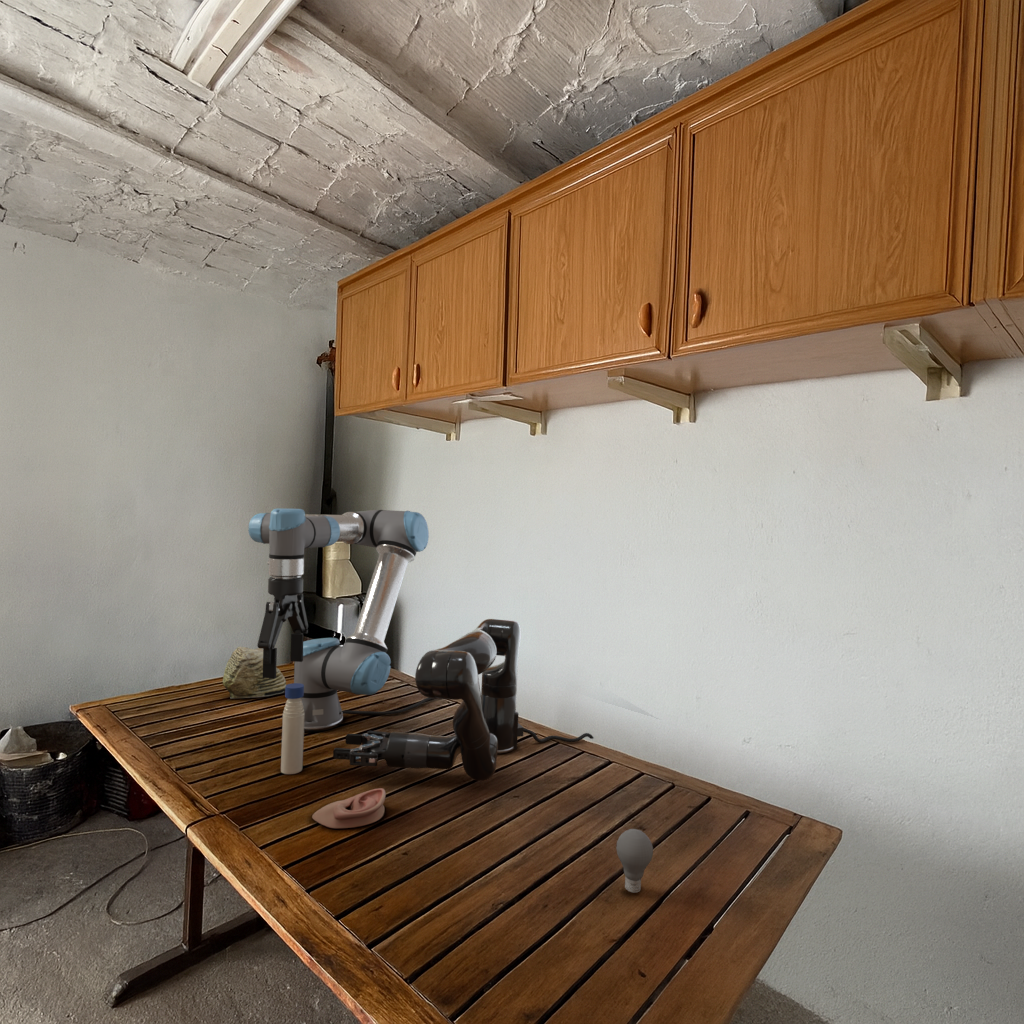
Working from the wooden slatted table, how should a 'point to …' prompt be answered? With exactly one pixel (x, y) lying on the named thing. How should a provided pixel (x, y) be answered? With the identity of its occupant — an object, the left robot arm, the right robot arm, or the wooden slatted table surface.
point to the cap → (294, 691)
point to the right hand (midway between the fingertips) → (340, 745)
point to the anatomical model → (353, 810)
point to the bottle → (292, 737)
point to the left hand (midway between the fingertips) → (283, 669)
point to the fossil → (250, 675)
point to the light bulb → (634, 857)
